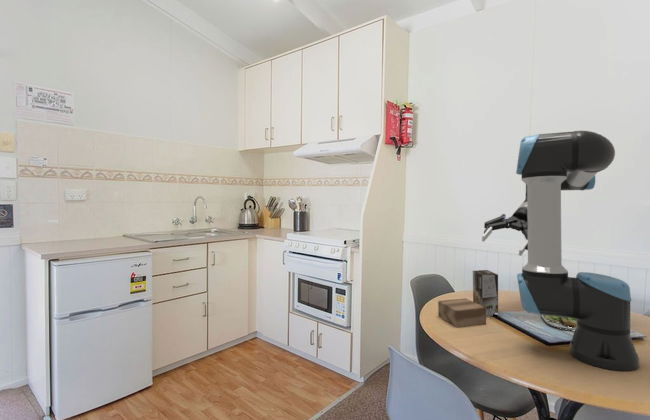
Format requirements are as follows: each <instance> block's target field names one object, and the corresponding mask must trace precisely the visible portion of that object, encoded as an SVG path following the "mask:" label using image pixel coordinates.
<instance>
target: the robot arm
mask: <svg viewBox="0 0 650 420" xmlns="http://www.w3.org/2000/svg"><path fill="white" fill-rule="evenodd" d="M519 144H520V145H519V150H518V156H517V164H516V165H517V166H516V170H515V171H516V172H515V174H516V175H519V176H521V181H522V182H523V183H524V184H525V199H524V201H523V202H522V203H521V204H520V206H519V207H518V208H516V210H515V211H514V212H513V214H512V215H511V216H510V217H508V216H506V214H505V213H502V214H501V215H500V216H497V217H495V218H493V219H490V220H487V221H485V222H484V225H483V228H484V231H483V235H482V236H481V237H482V238H481V242H483V243H484V242H485V241H486V240H487V239H488V237H489V236H490V235H492V233H493V231H496V230H503V229H512V230H516V231H518V232H521V233H522V235H523V236H524V238H525V239H526V241H525V242H524V243H523V245H522V246H521V247H520V248H519V251H518V256H519V257H521V256H522V255H523V254H524V252H525V251H527V262H526V264H524V266H523V267H521V271H522V272H519V273H517V274H516V277H517V278H516V279H517V283H518V285H517V286H518V291H519V292H518V293H519V297H520V303H521V308H522V310H523V311H524V312H526V313H529V314H535V315H539V316H541V315H549V316H558V317H567V318H575V319H577V328H576V330H575V331H574V332H573V336H572V338H571V341H570V343H569V352H570V354H571V356H573V357H574V358H575V359H577V360H579V361H581V362H583V363H586V364H588V365H591V366H594V367H596V368H597V367H598V368H600V369H601V368H602V369H607V370H612V371H634V370H636V369H638V368H639V366H640V357H639V355H638V352H637V350H636V348H635V345H634V342H633V339H632V336H631V302H632V298H631V288H630V285H629V284H628V283H627V282H625V281H624V280H621V279H619V278H617V277H613V276H610V275H605V274H601V273H594V272H589V271H588V272H587V271H585V272H584V271H580V272H578V273H577V274H576V276H575V277H572V276H571V277H570V276H569V271H568V270H567V268H565V267H564V266H563V265H562V263H563V262H562V261H563V260H562V258H563V257H562V191H589V190H593V189H594V188H595V185H596V175H597V174H598V173H599V172H601V171H604V170H606V169H607V168H609V166H610V165H611V164H612V163H613V161H614V160H615V155H616V149H615V147H614V145H613V142H611V141H610V139H608V138H607V137H605V136H604V135H602V134H601V133H597V132H594V131H590V130H574V131H565V132H561V131H560V132H550V133H549V132H547V133H537V134H533V135H527V136H526V135H525V136H524V137H523V138H521V140H520V143H519Z"/></svg>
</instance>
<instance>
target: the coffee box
mask: <svg viewBox="0 0 650 420" xmlns="http://www.w3.org/2000/svg"><path fill="white" fill-rule="evenodd" d="M472 297H473V300H472V301H473V302H475V303H477V304H479V305H481V306H483V307H486V317H494V316H493V314H495V313H498V314H499V274H498V273H495V272H493V271H490V270H488V269H483V270H482V269H480V270H472Z"/></svg>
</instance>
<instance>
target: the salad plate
mask: <svg viewBox="0 0 650 420" xmlns="http://www.w3.org/2000/svg"><path fill="white" fill-rule="evenodd" d="M540 318H541V319H542V320H543V322H544V323H546V324H548V325H549V326H550V325H551V327H552V326H554V327H557V328H556V329H558V328H561V329H567V330H576V328H577V319H575V318H567V317H558V316H549V315H540ZM547 320H550V321H549V322H548V321H547ZM551 321H554V322H551ZM555 322H559V323H558V324H560V323H563V324H565V325H566V326H569V327H572V328H568V327H566V326H565V325H564V326H561V325H558V324H555ZM563 324H562V325H563ZM554 327H553V328H554ZM561 329H560V330H561ZM567 330H566V331H567Z"/></svg>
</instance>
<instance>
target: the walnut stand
mask: <svg viewBox="0 0 650 420" xmlns="http://www.w3.org/2000/svg"><path fill="white" fill-rule="evenodd" d="M437 305H438V307H437V310H438V317H439V318H440V319H442V320H444V321H445V322H447V323H449V324H450V325H452V326H453V327H455V328H462V327H472V326H479V325H480V326H482V325H486V324H487V316H486V307H483V306H481V305H479V304H477V303H475V302H473V300H470V299H468V298H457V299H446V300H438V301H437Z"/></svg>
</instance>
